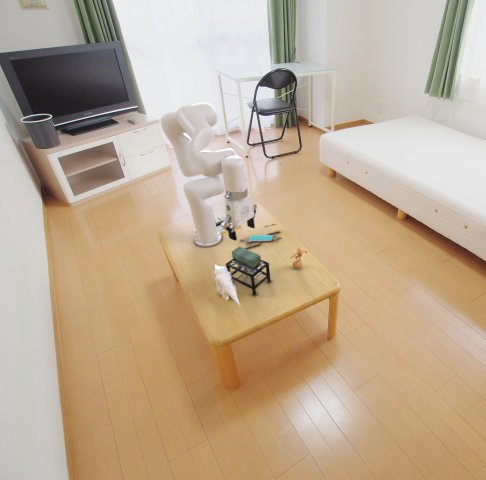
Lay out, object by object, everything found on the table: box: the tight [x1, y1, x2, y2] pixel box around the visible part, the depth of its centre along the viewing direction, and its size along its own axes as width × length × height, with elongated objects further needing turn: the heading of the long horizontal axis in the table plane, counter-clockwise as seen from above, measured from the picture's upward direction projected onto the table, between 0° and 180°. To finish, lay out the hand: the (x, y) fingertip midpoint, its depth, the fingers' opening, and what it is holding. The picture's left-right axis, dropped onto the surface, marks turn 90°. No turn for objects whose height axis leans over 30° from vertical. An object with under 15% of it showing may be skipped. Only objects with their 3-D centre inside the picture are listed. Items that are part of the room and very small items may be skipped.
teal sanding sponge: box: [231, 245, 262, 271], centre depth 133 cm, size 11×4×5 cm, turn 57°
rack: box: [225, 257, 272, 297], centre depth 137 cm, size 14×10×10 cm
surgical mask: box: [240, 223, 283, 250], centre depth 164 cm, size 21×4×10 cm
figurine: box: [289, 247, 308, 270], centre depth 144 cm, size 8×6×12 cm
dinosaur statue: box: [213, 264, 241, 307], centre depth 130 cm, size 7×24×11 cm, turn 35°
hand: (242, 233), depth 126 cm, fingers open, 9 cm apart
